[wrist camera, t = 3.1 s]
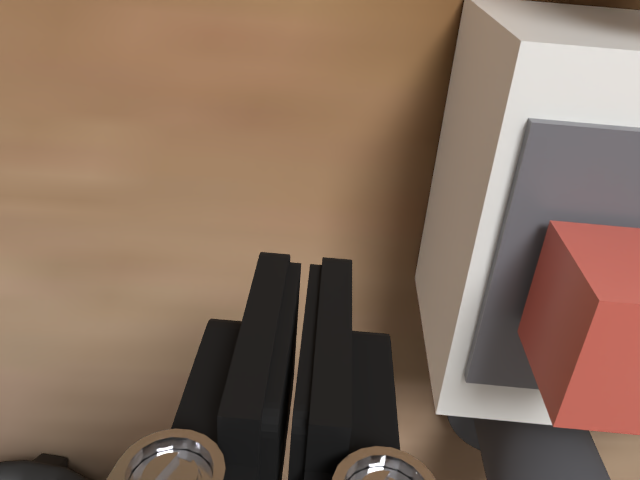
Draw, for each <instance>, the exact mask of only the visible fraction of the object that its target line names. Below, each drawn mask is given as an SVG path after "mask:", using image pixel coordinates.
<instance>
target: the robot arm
mask: <svg viewBox="0 0 640 480" xmlns="http://www.w3.org/2000/svg"><path fill="white" fill-rule="evenodd" d="M300 274H301V263H291V262H290V255H289V254H277V253H265V252H261V253H260V255H259V259H258V262H257V266H256V270H255V274H254V278H253V281H252V285H251V289H250V293H249V297H248V300H247V304H246V308H245V312H244V316H243V319H242V321H231V320H219V319H210V320H209V322H208V324H207V326H206V329H205V332H204V335H203V338H202V341H201V344H200V346H199V349H198V352H197V355H196V358H195V361H194V364H193V367H192V370H191V373H190V376H189V378H188V381H187V384H186V387H185V390H184V393H183V396H182V399H181V402H180V405H179V408H178V410H177V413H176V416H175V419H174V422H173V425H172V428H171V429H169V430H163V431H158V432H155V433H153V434H150V435H148V436H145V437H143V438H141V439H140V440H138V441H137V442H136V443H134V444H133V445H131V446H130V447H129V448H128V449H127V450H126V451H125V453H124V454H123V455H122V456H121V457H120V459H119V460H118V461H117V463H116V465H115V466H114V468H113V470H112V471H111V473H110V474H109V476H108V478H107V479H106V480H282V472H283V464H284V456H285V448H286V439H287V431H288V423H289V415H290V407H291V399H292V390H293V380H294V366H295V350H296V335H297V320H298V304H299V289H300ZM288 480H436V479H435V477H434V475H433V474H432V473H431V471H430V470H429V469H428V468H427V467H426V466H425V465H424V464H423V463H422V462H421V461H419V460H418V459H416V458H415V457H413V456H412V455H410V454H409V453H407V452H404V451H401V450H400V443H399V431H398V420H397V408H396V397H395V385H394V374H393V362H392V351H391V341H390V336H389V334H382V333H370V332H358V331H352V260H347V259H336V258H324V257H323V259H322V265H314V264H310V271H309V280H308V288H307V297H306V305H305V314H304V323H303V331H302V340H301V349H300V357H299V366H298V374H297V383H296V392H295V400H294V409H293V419H292V431H291V444H290V459H289V474H288Z"/></svg>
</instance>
